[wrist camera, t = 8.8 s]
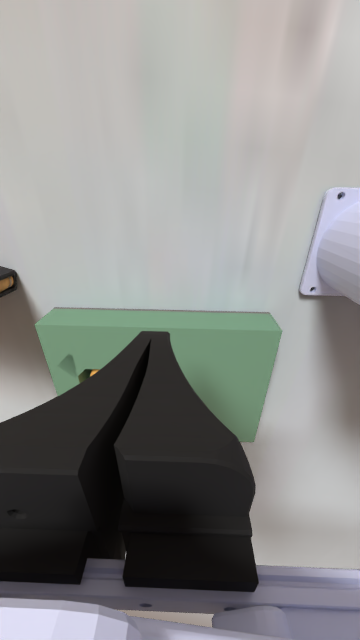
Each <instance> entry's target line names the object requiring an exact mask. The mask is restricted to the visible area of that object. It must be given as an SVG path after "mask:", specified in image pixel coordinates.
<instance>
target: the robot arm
mask: <svg viewBox="0 0 360 640" xmlns="http://www.w3.org/2000/svg"><path fill="white" fill-rule="evenodd" d="M340 192H341V193H342V197H341V198H340V199H339V200H338V198H337V196H338V194H339V193H340ZM312 287H314V289H313V290H312V291H310V289H311V288H312ZM299 291H300V292H301V293H302V294H303V295H323V296H346V297H347V298H349V299H351V300H352V301H354V302H355V303H357V304H358V305H360V188H331V189H329V190H328V191H327V192H326V193H325V195H324V199H323V202H322V206H321V210H320V214H319V217H318V221H317V225H316V229H315V232H314V236H313V240H312V243H311V247H310V251H309V255H308V258H307V262H306V266H305V270H304V273H303V277H302V281H301V284H300V288H299ZM255 486H256V485H255V481H254V477H253V474H252V471H251V468H250V465H249V462H248V460H247V457H246V455H245V452H244V450H243V448H242V446H241V444H240V442H239V440H238V438H237V436H236V435H235V434H233V433H232V432H231V431H230V430H229V429H228V428H227V427H226V426H225V425H224V424H223V423H222V422H221V421H220V420H219V419H218V418H217V417H216V416H215V415H214V414H213V413H212V412H211V411H210V410H209V409H208V407H207V406H206V405H205V404H204V402H203V401H202V400H201V399H200V397H199V396H198V395H197V394H196V392H195V391H194V390H193V388H192V387H191V385H190V384H189V382H188V381H187V379H186V377H185V376H184V374H183V372H182V370H181V368H180V366H179V364H178V362H177V360H176V357H175V355H174V352H173V349H172V346H171V342H170V333H169V332H166V331H141V332H140V333H139V334H138V335H137V336H136V337H135V338H134V339H133V340H132V341H131V342H130V343H129V344H128V345H127V346H126V347H125V348H124V349H123V350H122V351H121V352H120V353H119V354H118V355H117V356H116V357H115V358H113V359H112V360H111V361H110V362H109V363H108V364H106V365H105V366H104V367H103V368H101V369H100V370H99V371H97V372H96V373H95V374H93V375H92V376H90V377H89V378H88V379H86V380H85V381H83V382H81V383H80V384H78V385H76V386H75V387H73V388H71V389H70V390H68V391H66V392H65V393H63V394H61V395H59V396H58V397H56V398H54V399H52V400H50V401H48V402H46V403H44V404H42V405H40V406H38V407H36V408H34V409H32V410H29V411H27V412H25V413H23V414H20V415H18V416H16V417H13V418H11V419H8V420H6V421H4V422H1V423H0V640H360V570H359V569H335V568H311V567H287V566H263V565H256V564H255V559H254V553H253V548H252V543H251V537H252V528H251V523H250V517H249V511H250V508H251V505H252V502H253V498H254V495H255ZM125 554H126V559H125ZM114 609H117V610H114ZM118 610H139V611H162V612H163V611H164V612H183V613H205V614H214V616H213V618H212V628H211V627H205V626H197V625H191V624H184V623H177V622H169V621H162V620H155V619H149V618H141V617H133V616H128V615H127V614H125V613H124V612H121V611H118Z"/></svg>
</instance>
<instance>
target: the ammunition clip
mask: <svg viewBox="0 0 360 640" xmlns="http://www.w3.org/2000/svg"><path fill="white" fill-rule="evenodd" d="M14 290H16V272H15V271H14V270H12V269H8V268H5V267H1V266H0V297H2V296H4V295H6V294H8V293H10V292H12V291H14Z"/></svg>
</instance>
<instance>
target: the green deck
mask: <svg viewBox="0 0 360 640" xmlns="http://www.w3.org/2000/svg"><path fill="white" fill-rule="evenodd" d="M35 328H36V331H37V334H38V337H39V340H40V343H41V346H42V349H43V352H44V355H45V358H46V361H47V364H48V367H49V371H50V374H51V377H52V380H53V383H54V386H55V389H56V392H57V395H58V396H59V395H61V394H63V393H65V392H66V391H68V390H70V389H71V388H73V387H75V386H76V385H78V384H80V383H81V382H83V381H85V380H86V379H88V378H89V377H90V374H91V371H92V369H101V368H103V367H104V366H105V365H106V364H108V363H109V362H110V361H111V360H112V359H113V358H115V357H116V356H117V355H118V354H119V353H120V352H121V351H122V350H123V349H124V348H125V347H126V346H127V345H128V344H129V343H130V342H131V341H132V340H133V339H134V338H135V337H136V336H137V335H138V334H139V333H140V332H141V331H166V332H169V333H170V342H171V346H172V349H173V352H174V355H175V357H176V360H177V362H178V364H179V366H180V368H181V370H182V372H183V374H184V376H185V377H186V379H187V381H188V382H189V384H190V385H191V387H192V388H193V390H194V391H195V392H196V394H197V395H198V396H199V397H200V399H201V400H202V401H203V402H204V404H205V405H206V406H207V407H208V409H209V410H210V411H211V412H212V413H213V414H214V415H215V416H216V417H217V418H218V419H219V420H220V421H221V422H222V423H223V424H224V425H225V426H226V427H227V428H228V429H229V430H230V431H231V432H232V433H233V434H235V435H236V436H237V438H238V440H239V442H254V440H255V436H256V432H257V428H258V424H259V420H260V416H261V412H262V408H263V404H264V400H265V397H266V393H267V389H268V385H269V381H270V377H271V373H272V369H273V365H274V361H275V357H276V353H277V349H278V346H279V342H280V338H281V334H282V330H281V328H280V327H279V326H278V324H277V323H276V321H275V320H274V318H273V317H272V315H271V314H270V313H269V312H227V311H184V310H142V309H99V308H57V307H55V308H54V309H53V310H51V311H50V312H49V313H48V314H47V315H45V316H44V317H43V318H42V319H41V320H39V321H38V322H37V323H36V324H35Z"/></svg>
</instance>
